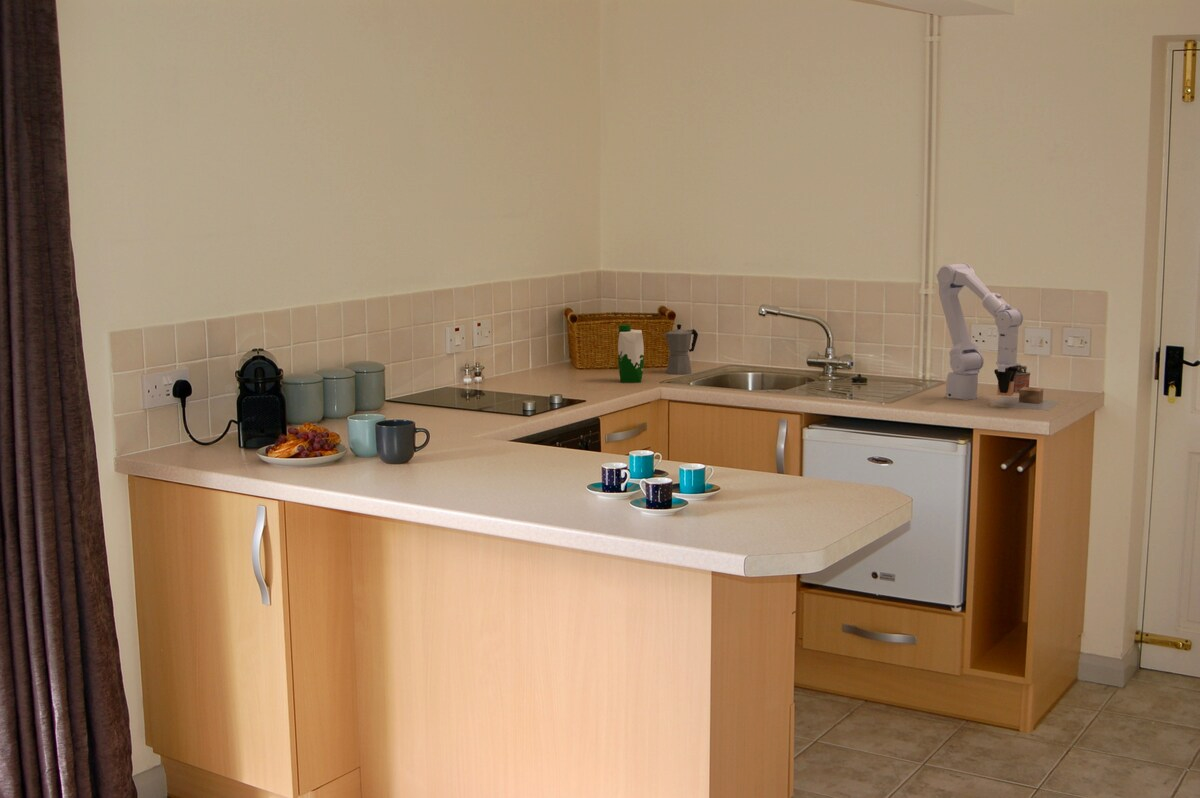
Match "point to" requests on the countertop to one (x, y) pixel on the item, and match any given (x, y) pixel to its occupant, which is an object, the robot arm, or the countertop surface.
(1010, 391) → the top brick
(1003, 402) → the baseplate
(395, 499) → the countertop surface
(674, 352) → the coffeepot
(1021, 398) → the base brick
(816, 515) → the countertop surface
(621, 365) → the milk carton
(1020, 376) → the lighter
